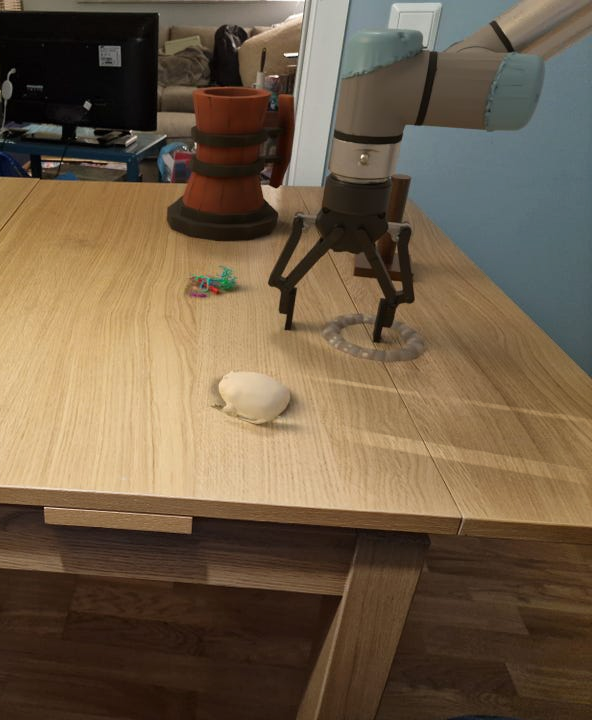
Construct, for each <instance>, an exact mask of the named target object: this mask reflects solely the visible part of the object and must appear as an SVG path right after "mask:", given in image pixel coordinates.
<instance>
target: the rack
mask: <svg viewBox="0 0 592 720" xmlns="http://www.w3.org/2000/svg"><path fill="white" fill-rule="evenodd" d="M390 179H391V180H392V182H393V185H392V190H391V195H390V200H389V205H388V209H387V215H386V217H387V220H388V222H393V223H402V222H403V219H404V214H405V208H406V205H407V201H408V196H409V192H410V187H411V182H412V176H411V175H407V174H401V173H399V174H398V173H395V174H394V175H393V176H391V177H390ZM376 243H377V244H376V246H377V249H378V252H379V254H380V256H381V258H382V261H383V263H384V265H385V267H386V270H387V272H388V274H389V276H390V278H391V281H400V282H402V280H401V273H400V265H399V258H398V252H396V250H397V242H394V241H392V239H391V234H390V233H388V232H386V233H385V234H384V235H383V236H382V237H381V238H380V239H379V240H378V241H377V242H376ZM409 258H410V265H411V273H412V280H413V279H414V275H415V274H414V267H413V261H412V255H411V254H410V253H409ZM352 274H353V275H352V276H356V277H365V278H374V279H376V277H375V274H374V272H373V270H372V268H371V266H370V263H369V262H368V260H367V258H366V256H365V254H364V252H362V253H359V254H353V273H352Z"/></svg>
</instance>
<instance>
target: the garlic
mask: <svg viewBox="0 0 592 720" xmlns="http://www.w3.org/2000/svg"><path fill="white" fill-rule="evenodd" d="M218 392H219V394H220V397H221V398H222V400H223V401H224V402H225V405H224V406H222V405H221V404H219V405H217V404H215V403H214V405H210V407H211V408H214V409H215V410H218V411H220V412H222V413H232V414H235V415H236V417H238V419H239V420H241V421H244V422H248V423H250V424H251V423H252V424H254V425H255V424H256V425H257V424H258V425H261V424H265V423H268V422H270V421H272V420H275V419H276V418H277V417H279V416H280V414H282V413H283V412H284V411H285V409H286V408H287V406H288V405H289V403H290V399H291V394H290V391H289V389H288V387H287V386H285V384H283V383H282V382H280V381H278V380H277V379H275V378H273V377H271V376H270V375H268V374H266V373H261V372H257V371H235V370H231V371H230V372H228V373H227V374H225V375H223V376H222V379H221V380H220V381H219V382H218Z"/></svg>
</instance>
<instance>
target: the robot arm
mask: <svg viewBox="0 0 592 720" xmlns="http://www.w3.org/2000/svg"><path fill="white" fill-rule="evenodd" d="M590 35H592V0H520V1H518V2H517V3H516V4H514V5H512V6H511V7H510V8H508V9H507V10H505V11H504V12H502V13H501V14H500V15H498V16H497V17H495V18H494V19H493V20H492V21H490V22H489V23H487V24H485V25H484V26H482V27H481V28H479V29H478V30H476V31H474V33H471V35H469V36H468V37H466V38H465V39H462V40H459V41H457V42H454V43H452V44H450V45H449V46H448V47H446V48H444V49H443V50H442V51H437V50H429V49H424V44H423V42H424V35H423V33H422V32H421V31H420V30H418V29H408V28H407V29H406V28H403V29H401V28H365V29H361V30H357V32H355V33H354V34H353V35H352V36H351V37H350V39H349V40H348V46H347V52H346V55H345V60H344V65H343V69H342V74H341V79H340V85H339V86H340V87H339V92H338V101H337V107H336V115H335V121H334V127H333V128H334V129H333V135H332V139H331V144H330V145H331V146H330V151H329V159H328V165H327V170H328V171H329V174H328V175H327V176H326V178H325V183H324V189H323V195H322V201H321V207H320V210H319V212H318V213H317V214H315V215H314V214H305V213H304V212H302V211H297V212H295V214H294V217H293V220H292V227H291V232H290V234H289V237H288V239H287V240H286V242H285V244H284V246H283V248H282V251H281V252H280V255H279V257H278V258H277V260H276V263H275V265H273V269H272V270H271V272H270V274H269V278H268V280H267V284H268V286H269V287H270V288H276V289H278V290H279V292H280V297H279V303H278V313H279V314H280V315H285V322H284V323H285V324H284V331H289V332H290V331H291V330H292V324H293V319H294V312H295V306H296V298H297V293H298V287H296V285H298V283H299V282H300V281H301V280H302V279H303V278H304V277H305V276H306V275H307V273H309V271H310V270H311V269H312V268H313V267H314V266H315V265H316V263H317V262H319V260H321V258H322V257H324V256H325V255H326V254H327V253H328V252H329V251H330V250H331V251H332V252H334V253H344V252H345V253H349V254H353V255H355V254H359V253H362V252H364V254H365V256H366V258H367V260H368V262H369V263H370V266H371V268H372V270H373V272H374V274H375V277H376V278H375V279H376V281H377V284H378V285H379V287H380V290H381V292H382V294H383V296H384V297H380V298H379V303H378V308H377V311H376V315H377V316H376V321H375V325H374V324H373V331H372V343H375V344H380V341H381V336H382V332H383V328H387V329H389V328H391V326H392V325H393V320H395V316H396V312H397V308H398V307H399V306H400V305H402V304H408V305H411V304H413V303H415V300H416V298H415V290H414V283H413V282H414V281H413V279H412V273H411V265H410V258H409V254H410V251H409V245H410V240H411V237H412V233H413V230H412V225H411V222H410V221H407V220H405V221H404V220H403V221H402V223H393V222H388V220H387V217H386V215H387V209H388V205H389V200H390V195H391V190H392V185H393V182H392V180H391V176H393V175H394V174H396V171H397V165H398V161H399V155H400V151H401V146H402V141H403V137H404V130H405V129H406V126H415V127H421V126H424V127H437V128H452V129H465V130H479V131H486V132H487V133H492V132H494V131H511V132H513V131H519V130H522V129H523V128H525V127H526V126H527V125H528V124H529V123H530V122H531V120H532V118H533V117H534V114H535V112H536V110H537V108H538V104H539V102H540V98H541V96H542V91H543V88H544V87H543V86H544V83H545V76H546V63H547V62H548V61H550V60H552V59H553V58H555V57H557V56H558V55H560V54H561V53H563V52H565V51H566V50H568V49H570V48H571V47H573V46H574V45H576V44H577V43H579V42H581V41H583V40H584V39H585V38H587V37H589V36H590ZM314 226H315V228H316V229H317V231H318V233H319V234H320V236H321V237H320V238H319V239H318V240H317V241H316V242H315V244H314V245H313V247H312V248H311V249H310V250H309V251H308V252H307V253H306V254H305V255H304V257H303V258H302V259H301V260H300V261H299V262H298V263H297V264H296V266H294V268H293V269H292V270H291V271H290V272H289V274H287V276H286V277H285V276H283V273H284V272H285V270H286V268H287V266H288V264H289V262H290V260H291V258H292V256H293V254H294V253H295V250H296V248H297V246H298V244H299V243H300V240H301V238H302V234H306V233H308V232H309V230H310V229H311V227H314ZM386 232H388V233H390V234H391V239H392V241H394V242H397V246H396V250H397V253H398V258H399V265H400V273H401V280H402V281H401V287H402V289H401V290H396V287H395V285H394V283H393V280H391V278H390V276H389V274H388V272H387V270H386V267H385V265H384V263H383V261H382V258H381V256H380V254H379V252H378V249H377V244H376V243H377V242H378V240H379V239H380V238H381V237H382V236H383V235H384V234H385V233H386Z"/></svg>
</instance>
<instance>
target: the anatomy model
mask: <svg viewBox="0 0 592 720" xmlns="http://www.w3.org/2000/svg"><path fill="white" fill-rule="evenodd" d="M218 268H222V269H223V271H222V272H221V274H217V277H220V278H212V277H211V276H208V275H196V274H192V273H190V274H189V276H190V277H185V279H188V280H192V283H194V282H195V280H196V282H198V283H200V285H199V287H198V286H197V285H196V286H195V285H194V286H192V289H194V290H200V293H199V294H196V293H195V292H193V291H190V292H189V294H190V295H192V297H198V298H205V297H207V294H205V293H206V292H208V291H209V290H210V291H212V292H213V293H215V294H216V295H219V294H220V290H219V289H218V288H216V287H217V285H218V284H217V283H215V282H218V283H219V288H222V290H224V291H225V290H229V289H230V290H231V289H232V288H233V289H234V290H235V289H236V285H237V283H238V282H237V279H238V277H237V276H236V275H235V273H234V272H235V271H234V270H233V268H231V267H229V268H228V267H226V266H224V265H219V266H218ZM203 286H204V287H205V288H206V290H203V291H201V290H202V289H203Z"/></svg>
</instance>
